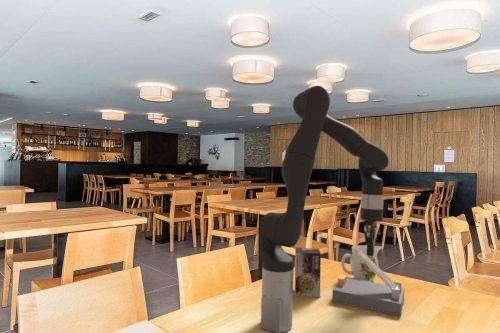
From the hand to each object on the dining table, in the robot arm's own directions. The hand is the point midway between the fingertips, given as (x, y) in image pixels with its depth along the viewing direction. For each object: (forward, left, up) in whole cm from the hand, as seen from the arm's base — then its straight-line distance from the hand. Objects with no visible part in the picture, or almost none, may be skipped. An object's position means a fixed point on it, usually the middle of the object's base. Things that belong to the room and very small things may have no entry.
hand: (370, 255), depth 121 cm
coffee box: (-6, +21, -16) cm, 27 cm away
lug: (0, +9, -12) cm, 15 cm away
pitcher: (+20, +6, -16) cm, 26 cm away
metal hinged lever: (0, -2, -6) cm, 6 cm away
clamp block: (0, 0, -16) cm, 16 cm away
